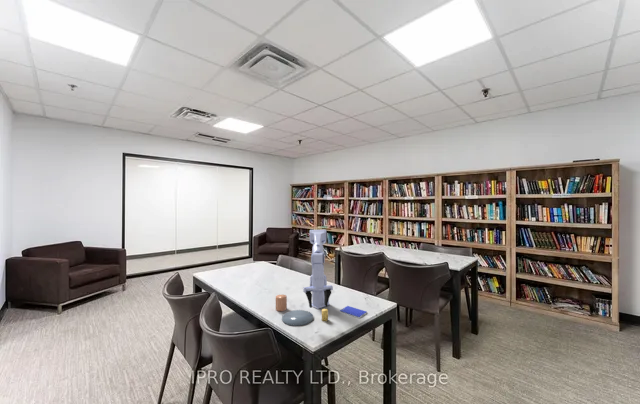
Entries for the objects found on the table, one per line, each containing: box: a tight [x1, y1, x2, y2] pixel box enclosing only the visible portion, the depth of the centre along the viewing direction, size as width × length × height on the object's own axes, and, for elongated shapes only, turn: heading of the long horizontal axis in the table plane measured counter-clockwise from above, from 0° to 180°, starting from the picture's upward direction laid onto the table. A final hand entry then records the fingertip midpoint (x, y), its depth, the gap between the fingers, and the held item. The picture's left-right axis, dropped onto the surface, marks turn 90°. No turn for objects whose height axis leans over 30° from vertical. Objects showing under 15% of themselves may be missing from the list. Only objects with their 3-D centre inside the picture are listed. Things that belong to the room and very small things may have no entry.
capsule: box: [321, 308, 329, 322], centre depth 131 cm, size 3×3×5 cm
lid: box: [281, 309, 314, 327], centre depth 132 cm, size 16×16×1 cm
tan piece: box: [275, 294, 288, 312], centre depth 145 cm, size 6×6×7 cm
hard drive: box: [339, 305, 368, 319], centre depth 139 cm, size 2×8×12 cm
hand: (318, 306), depth 124 cm, fingers open, 7 cm apart
